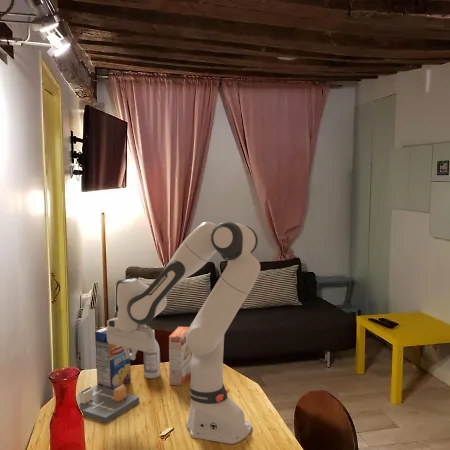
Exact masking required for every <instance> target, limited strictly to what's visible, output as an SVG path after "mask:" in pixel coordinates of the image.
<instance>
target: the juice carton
mask: <svg viewBox="0 0 450 450" xmlns="http://www.w3.org/2000/svg"><path fill="white" fill-rule="evenodd" d="M107 328H108V326H105V327H103V328H100V329H97V330H95V331H94V332H95V333H94V334H95V335H94V336H95V355H96V356H95V357H96V359H95V361H96V380H97V381H96V382H97V383H96V385H98V386H101V387H105V388H108V389H112V390H114V389H116V388H118V387H119V386H121V385H124V386H125V385H127V384H129V383H131V380H132V379H131V360H130V359H127V358H126V353H125V351H124V347H121V346H117V345H112V344H109V343H108V341H107ZM129 350H130V351H131V349H129Z"/></svg>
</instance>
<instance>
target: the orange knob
mask: <svg viewBox="0 0 450 450" xmlns="http://www.w3.org/2000/svg"><path fill="white" fill-rule="evenodd" d="M113 393H114V400H115V401H120V400H122V399H124V398H125V397H126V394H127V386H125V385H121V386H119V387H118V388H116V389H114V390H113Z"/></svg>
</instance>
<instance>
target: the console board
mask: <svg viewBox="0 0 450 450" xmlns="http://www.w3.org/2000/svg"><path fill="white" fill-rule="evenodd" d="M91 389H93V399H92V400H90V401H88V402H87V403H85V404H83V403H80V401H79V394H77V395H76V396H77V401H78V405H79V407H80V410H81V411H82V413H83V415H84V416H83V415H82V416H83V417H85V418H86V417H87V418H90V419H93V420H95V421H98V422H102V423H105V424H107V423H108V422H110V421H112V420H113V419H114V418H116V417H118V416H119V415H121V414H122V413H125V412H126V411H127V410H128V409H130V408H132V407H133V406H135V405H136V404H137V405H138V403H140V397H139V396H138V395H137V396H136V395H133V394H130V393H126V397H125V398H124V399H122V400H120V401H115V400H114V393H113V390H112V389H108V388H105V387H101V386H98V385H97V384H96V385H94V386H93V387H91Z"/></svg>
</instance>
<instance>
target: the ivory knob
mask: <svg viewBox="0 0 450 450" xmlns="http://www.w3.org/2000/svg"><path fill="white" fill-rule="evenodd" d="M91 388H92V387H91V386H88V387H86V388H83V389H81V390H80V391H78V395H79V401H80V403H83V404H85V403H87V402H88V401H90V400H92V399H93V389H91Z"/></svg>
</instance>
